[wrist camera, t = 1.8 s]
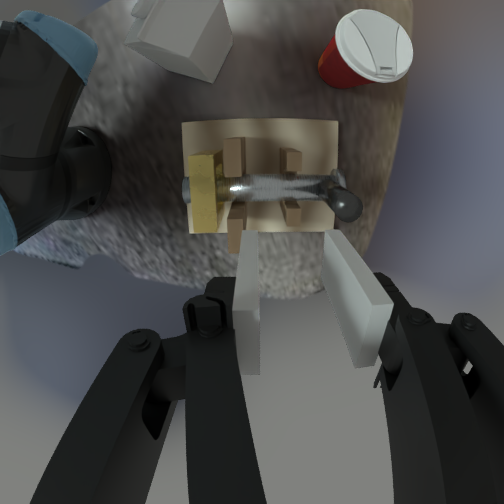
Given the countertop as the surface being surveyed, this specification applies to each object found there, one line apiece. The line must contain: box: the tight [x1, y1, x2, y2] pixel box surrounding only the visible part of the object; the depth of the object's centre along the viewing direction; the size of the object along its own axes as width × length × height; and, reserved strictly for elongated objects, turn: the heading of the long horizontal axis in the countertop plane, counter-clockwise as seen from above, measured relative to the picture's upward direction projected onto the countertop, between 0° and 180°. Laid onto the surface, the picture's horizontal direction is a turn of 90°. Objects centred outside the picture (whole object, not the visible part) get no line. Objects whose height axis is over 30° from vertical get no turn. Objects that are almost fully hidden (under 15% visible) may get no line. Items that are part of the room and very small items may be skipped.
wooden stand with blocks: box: [182, 118, 338, 253], centre depth 32 cm, size 21×16×14 cm
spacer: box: [188, 150, 225, 233], centre depth 31 cm, size 2×8×8 cm, turn 1°
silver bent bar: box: [182, 169, 363, 222], centre depth 27 cm, size 17×4×11 cm, turn 91°
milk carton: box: [124, 0, 233, 84], centre depth 23 cm, size 7×7×19 cm
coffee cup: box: [318, 9, 413, 89], centre depth 25 cm, size 8×8×15 cm
